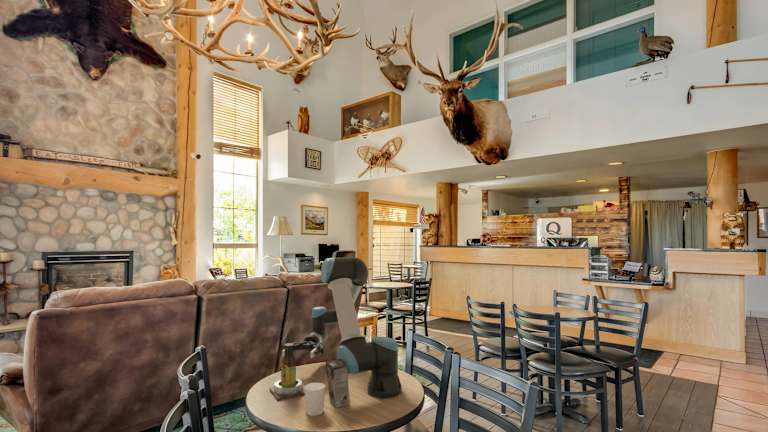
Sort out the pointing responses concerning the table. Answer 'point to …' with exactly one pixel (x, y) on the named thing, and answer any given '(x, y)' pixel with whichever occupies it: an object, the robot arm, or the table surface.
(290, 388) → the steel collar
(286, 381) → the sauce bottle
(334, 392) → the coffee box
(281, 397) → the walnut base
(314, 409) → the white cup
